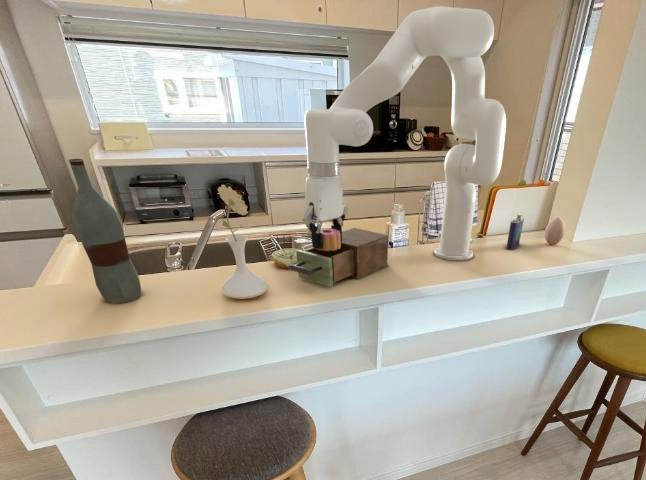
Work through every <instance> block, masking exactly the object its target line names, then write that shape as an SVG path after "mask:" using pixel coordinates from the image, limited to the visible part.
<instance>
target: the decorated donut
mask: <svg viewBox="0 0 646 480" xmlns="http://www.w3.org/2000/svg"><path fill="white" fill-rule="evenodd" d="M297 250H301V249H299V248H293V247H292V248H290V247H289V248H281V249H278V250H276V251H274V252H272V253H271V260H272V261H273V263H274V265H275V266H277V267H278V268H281V269H289V268H288V267H289V265H290V264H292V265H296V264H297V254H296V251H297Z"/></svg>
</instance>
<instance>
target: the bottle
mask: <svg viewBox="0 0 646 480" xmlns="http://www.w3.org/2000/svg"><path fill="white" fill-rule="evenodd" d="M84 161H85V160H84V159H83V158H69V159H68V163H69V165H70V167H71V171H72V174H73V176H74V180H75V182H76V185H77V192H76V196H75V198H74V202H73V205H72V209H71V219H72V223H73V227H74V231H75V233H76V235H77V237H78V238H79V240H80V243H81V245H82V247H83V249H84V251H85V253H86V256H87V258H88V260H89V262H90V265H91V269H92V273H93V277H94V282H95V286H96V287H97V290H98V292H99V293H100V295H101V297H102V298H103V300H105V301H106V303H108V304H125V303H130V302H133V301H136V300H138V299H139V298H141V296H142V285H141V280H140V277H139V274H138V271H137V270H136V267H135V266H134V264H133V262H132V260H131V258H130V254H129V253H130V252H129V249H128V245H127V240H126V236H125V231H124V226H123V223H122V221H121V219H120V216H119V214H118V212H117V211H116V209H115V207H113V206H112V204H111V203H109V201H108V200H106V199H105V198H104V197H103V196H102V195H101V193H99V192H98V190H96V189H95V188H94V187H93V185H92V182H91V179H90V176H89V173H88V170H87V168H86V165H85V162H84Z"/></svg>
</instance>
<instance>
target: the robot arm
mask: <svg viewBox="0 0 646 480" xmlns="http://www.w3.org/2000/svg"><path fill="white" fill-rule="evenodd" d="M494 24H495V23H494V21H493V18H492V16H491V15H490V14H489V13H488V12H487V11H485V10H483V9H478V8H464V7H454V6H452V7H451V6H444V5H442V6H441V5H440V6H432V7H431V6H430V7H427V8H421V9H418V10H417V9H416V10H414V11H411V12H410V13H409V14H408V15H407V16H406V17H405V18H404V19H403V20H402V22H401V23H400V25H399V26H398V27H397V29H396V30H395V31H394V33H393V34H392V35H391V36H390V39H389V40H388V41H387V43H386V44H385V45H384V47H382V50H381V51H380V52H379V54H378V55H377V57H376V58H375V59H374V60H373V62H371V63H370V64H369V65H368V66H366V68H364V70H362V72H360V73H359V74H358V75H357V76H356V77H355V78H354V79H353V80H352V81H350V82H349V84H347V86H345V88H344V89H342V91H341V92H340V94H339V95H338V96H337V98H336V99H335V100H334V102H333V103H332V105H331V106H330V107H329V108H327V109H326V108H310V109H307V110H306V111H305V112H304V130H305V143H306V145H305V146H306V157H307V159H306V160H307V172H308V173H307V175H308V176H307V177H305V178H306V179H305V186H304V211H305V212H304V214H303V216H302V218H301V220H302V223H304V225H305V226H306V228H307V229H308V231H309V232H310V233H311V246H312V247H314V248H318V249H323V238H322V233H320V231H321V228H323V227H322V226H323V223H324V222H327V221H328V222H329V221H331V223H332V225H331V227H330V228H331V229H337V230H339V231H340V240H341V242H342V232H343V226H344V222H345V219H346V215H347V213H348V210H349V208H348V207H347V206H346V205H345V204H344V192H343V190H344V189H343V184H342V178H341V175H340V148H339V147H340V145H342V146H351V147H361V146H363V145H366V144H367V143H369V141H370V140H371V139H372V136H373V134H374V123H373V120H372V118H371V117H370V115H369V114H368V113H367V112H368V111H370V109H372V108H373V107H374V106H376V105H378V104H380V103H383V102H385V101H387V100H389V99H391V98H393V97H395V96H396V95H398V94H399V93H401V91H402V90H403V89H404V87H405V86H406V85H407V83H408V82H409V81H410V79H411V78H412V76H413V75H414V73H415V72H416V71H417V70H418V68H419V67H420V65H421V64H422V63H423V62H424V60H425V59H426V58H428V57H436V56H440V57H441V58H442V59H443V60H444V62H445V63H446V65H447V67H448V69H449V71H450V74H451V82H452V84H451V85H452V93H451V120H450V123H451V124H450V125H451V131H452V134H453V135H454V136H455V137H457V138H460V139H463V140H470V141H475V144H471V143H470V144H469V143H459V144H456V145H454V146H452V147H451V148H450V149H448V152H447V153H446V155H445V158H444V166H443V167H444V181H445V182H444V184H445V186H444V187H445V188H444V200H443V209H442V210H443V211H442V218H441V219H442V220H441V228H440V229H441V230H440V239H439V246H438V247H435V248H434V251H433V252H434V253H433V254H434V256H436V257H437V258H440V259H443V260H449V261H467V260H470V259H472V258H473V257H474V251H473V250H472V249H470V245H471V244H473V243H474V239H473V238H472V231H473V224H474V217H475V208H476V203H477V202H476V201H477V191H476V185H477V186H484V187H485V186H490V185H492V184H493V183H494V182H495V181H497V179H498V177H499V175H500V173H501V169H502V164H503V158H504V149H505V140H506V139H505V138H506V129H507V115H506V111H505V110H506V109H505V107H504V106H503V104H502V103H501V102H500V101H499V100H497V99H494V98H486V97H485V96H486V95H485V94H486V93H485V92H486V69H485V65H484V61H483V59H482V55H485V54H486V52H487V51H488V50H489V49H490V47H491V45H492V44H493V40H494V37H495V25H494Z"/></svg>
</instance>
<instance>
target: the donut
mask: <svg viewBox="0 0 646 480" xmlns="http://www.w3.org/2000/svg"><path fill="white" fill-rule="evenodd" d="M320 233H322V238H323V249H318V248H316V249H318V250H323V251H334V250H337V249H340V247H341V240H340V231H339V230H337V229H331V227H325V228H323V227H321V231H320Z"/></svg>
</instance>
